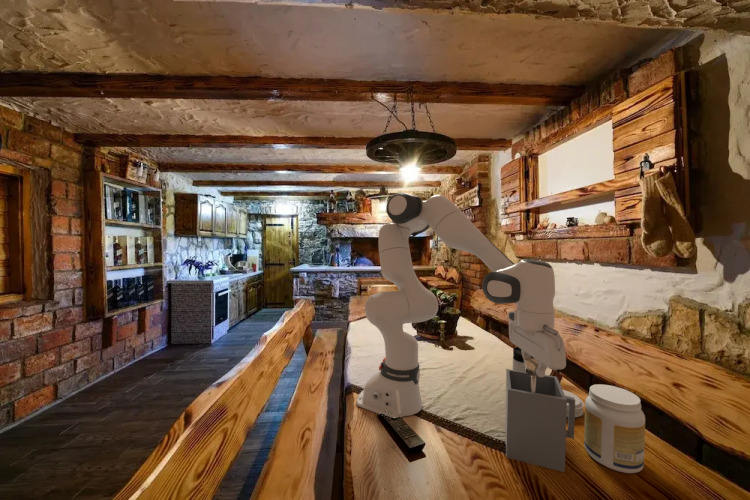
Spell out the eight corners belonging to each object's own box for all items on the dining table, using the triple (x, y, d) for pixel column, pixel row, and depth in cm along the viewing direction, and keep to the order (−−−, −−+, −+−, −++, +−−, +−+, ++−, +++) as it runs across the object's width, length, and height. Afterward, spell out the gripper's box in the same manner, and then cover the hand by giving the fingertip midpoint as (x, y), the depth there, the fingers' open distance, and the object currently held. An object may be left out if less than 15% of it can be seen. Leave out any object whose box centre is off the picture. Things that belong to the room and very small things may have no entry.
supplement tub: (647, 459, 77) (650, 394, 76) (639, 484, 69) (642, 413, 68) (590, 435, 86) (592, 377, 86) (577, 455, 78) (579, 392, 78)
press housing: (506, 457, 78) (507, 389, 77) (505, 427, 90) (506, 369, 89) (579, 476, 72) (581, 402, 71) (567, 441, 84) (569, 378, 83)
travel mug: (527, 403, 103) (529, 346, 102) (535, 414, 97) (537, 353, 96) (508, 402, 104) (509, 345, 103) (515, 413, 97) (517, 352, 96)
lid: (541, 414, 97) (541, 399, 97) (536, 395, 108) (537, 382, 108) (588, 424, 92) (588, 408, 92) (578, 403, 104) (578, 388, 103)
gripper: (574, 332, 70) (572, 390, 70) (525, 310, 90) (524, 356, 91) (548, 332, 69) (546, 391, 70) (505, 311, 90) (504, 356, 90)
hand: (533, 371), depth 80 cm, fingers closed on plunger, 4 cm apart
